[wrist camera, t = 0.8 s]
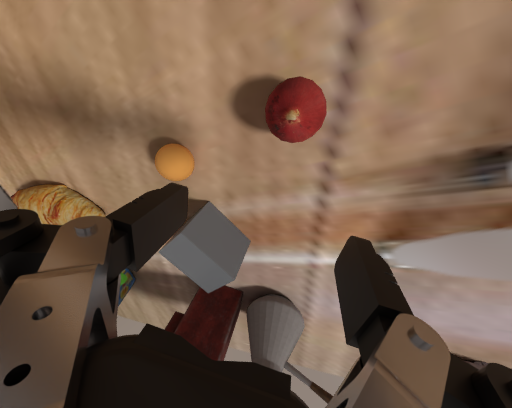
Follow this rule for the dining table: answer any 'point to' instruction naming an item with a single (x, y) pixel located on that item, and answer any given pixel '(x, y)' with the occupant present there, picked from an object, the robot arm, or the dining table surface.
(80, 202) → the croissant
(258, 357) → the coffee pot
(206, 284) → the grey rectangular box
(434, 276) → the dining table surface
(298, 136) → the onion
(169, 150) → the ball
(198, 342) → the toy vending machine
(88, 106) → the dining table surface
